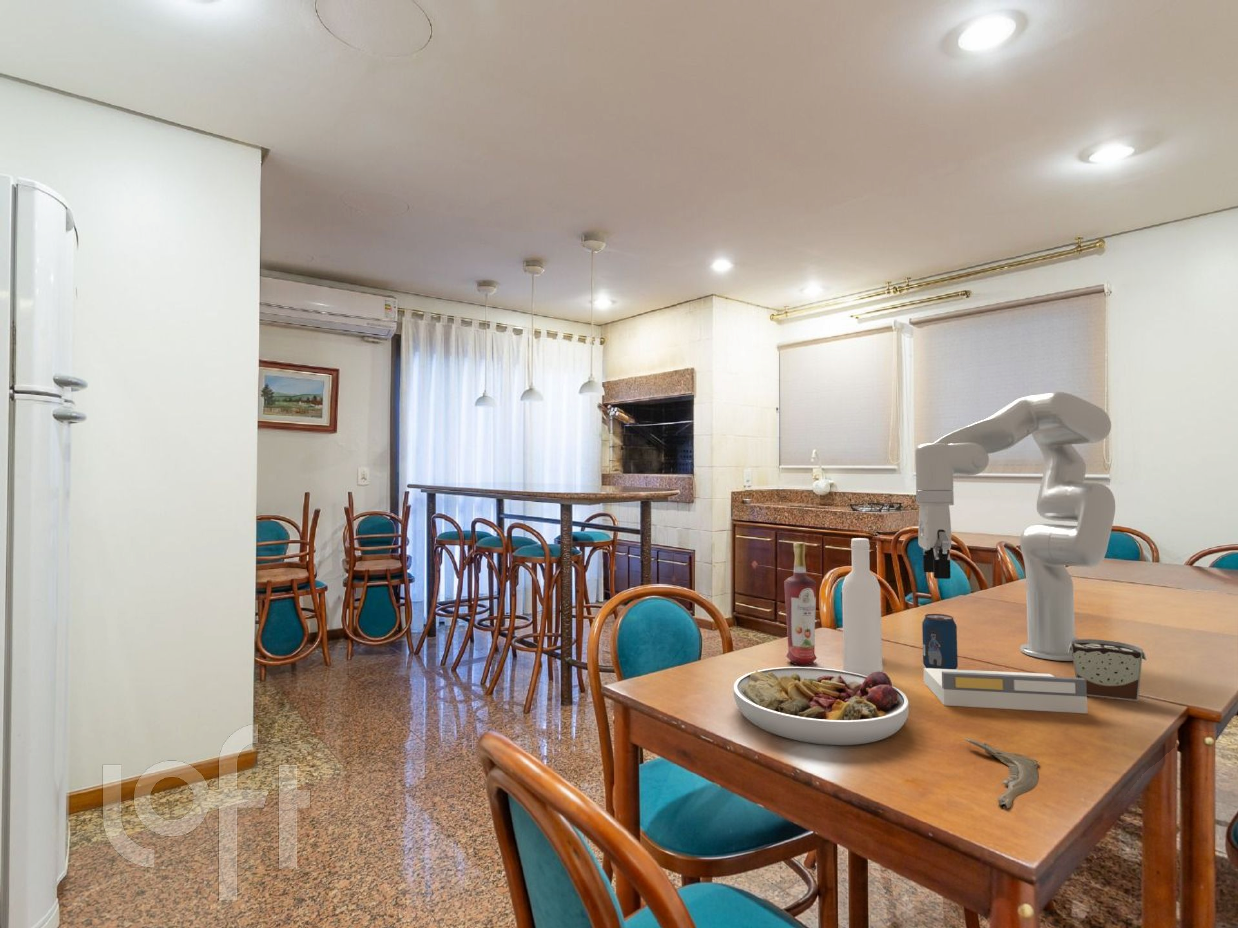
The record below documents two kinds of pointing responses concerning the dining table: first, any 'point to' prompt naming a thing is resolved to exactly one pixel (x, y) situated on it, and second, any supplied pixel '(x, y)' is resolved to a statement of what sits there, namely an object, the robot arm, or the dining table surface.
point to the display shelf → (1007, 690)
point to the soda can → (939, 642)
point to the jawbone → (1013, 772)
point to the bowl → (822, 704)
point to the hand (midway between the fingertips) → (936, 575)
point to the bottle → (861, 614)
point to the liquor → (800, 611)
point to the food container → (1108, 667)
